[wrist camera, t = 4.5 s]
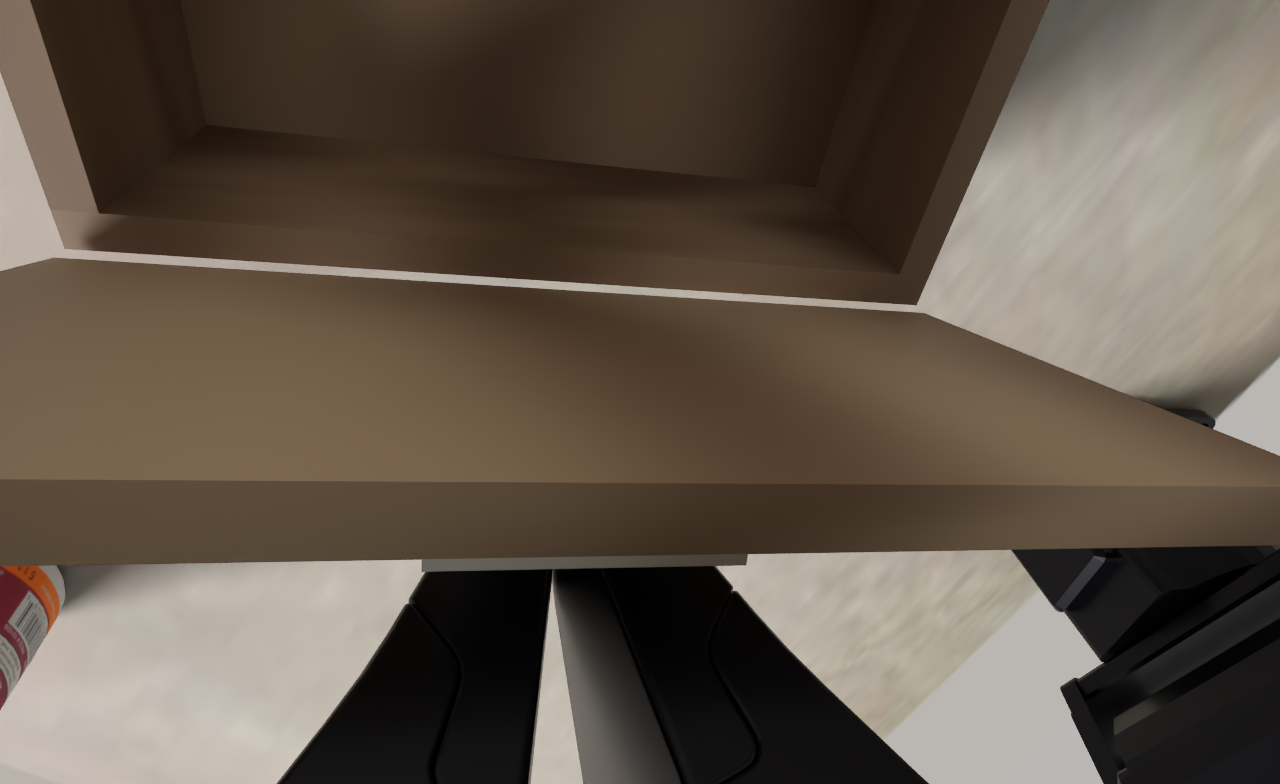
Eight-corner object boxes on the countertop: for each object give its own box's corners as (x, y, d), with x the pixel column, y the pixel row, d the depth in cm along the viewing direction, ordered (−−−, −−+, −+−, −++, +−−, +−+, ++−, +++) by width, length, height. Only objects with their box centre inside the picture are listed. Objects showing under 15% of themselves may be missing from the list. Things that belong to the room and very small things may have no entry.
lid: (1356, 487, 6) (1325, 553, 6) (924, 312, 13) (915, 349, 13) (-804, 474, 3) (-729, 593, 4) (54, 257, 10) (62, 305, 10)
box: (935, -154, 13) (1121, -166, 9) (822, 204, 17) (916, 305, 13) (80, -344, 10) (-202, -486, 6) (190, 143, 14) (64, 248, 10)
